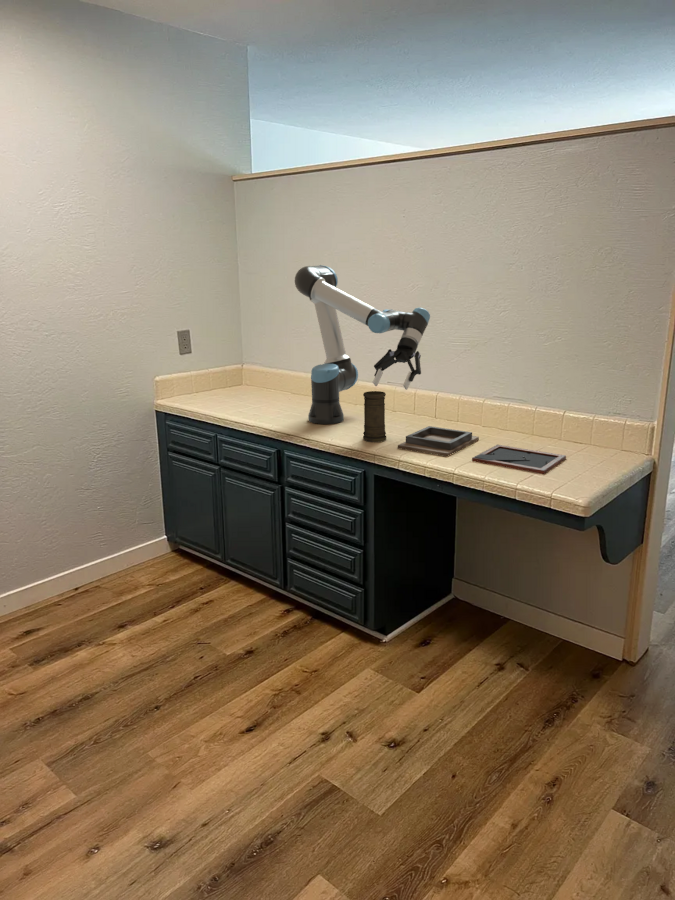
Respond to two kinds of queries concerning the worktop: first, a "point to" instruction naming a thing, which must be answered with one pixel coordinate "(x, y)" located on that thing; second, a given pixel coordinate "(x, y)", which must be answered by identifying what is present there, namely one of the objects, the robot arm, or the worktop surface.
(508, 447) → the picture frame
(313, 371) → the robot arm
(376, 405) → the container
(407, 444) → the holder
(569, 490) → the worktop surface
